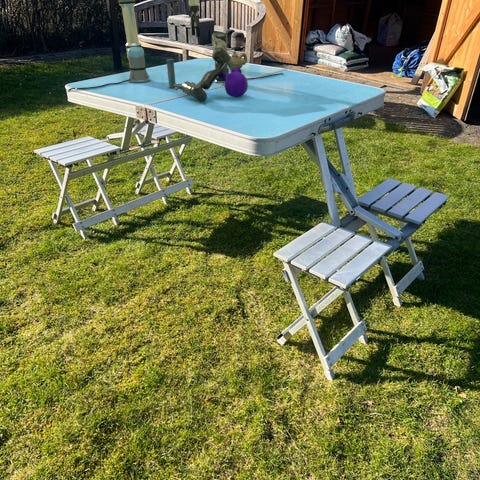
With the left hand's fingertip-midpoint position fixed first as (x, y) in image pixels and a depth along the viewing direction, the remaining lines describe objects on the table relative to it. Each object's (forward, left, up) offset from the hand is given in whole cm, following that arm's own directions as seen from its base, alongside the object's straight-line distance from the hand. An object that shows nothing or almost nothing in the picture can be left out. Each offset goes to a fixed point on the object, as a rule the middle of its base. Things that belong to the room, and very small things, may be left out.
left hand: (195, 36), depth 348 cm
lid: (-29, -46, -9) cm, 55 cm away
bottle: (-29, -46, -28) cm, 61 cm away
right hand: (-26, -65, -22) cm, 73 cm away
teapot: (+32, 0, -28) cm, 42 cm away
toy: (+4, -85, -28) cm, 90 cm away
